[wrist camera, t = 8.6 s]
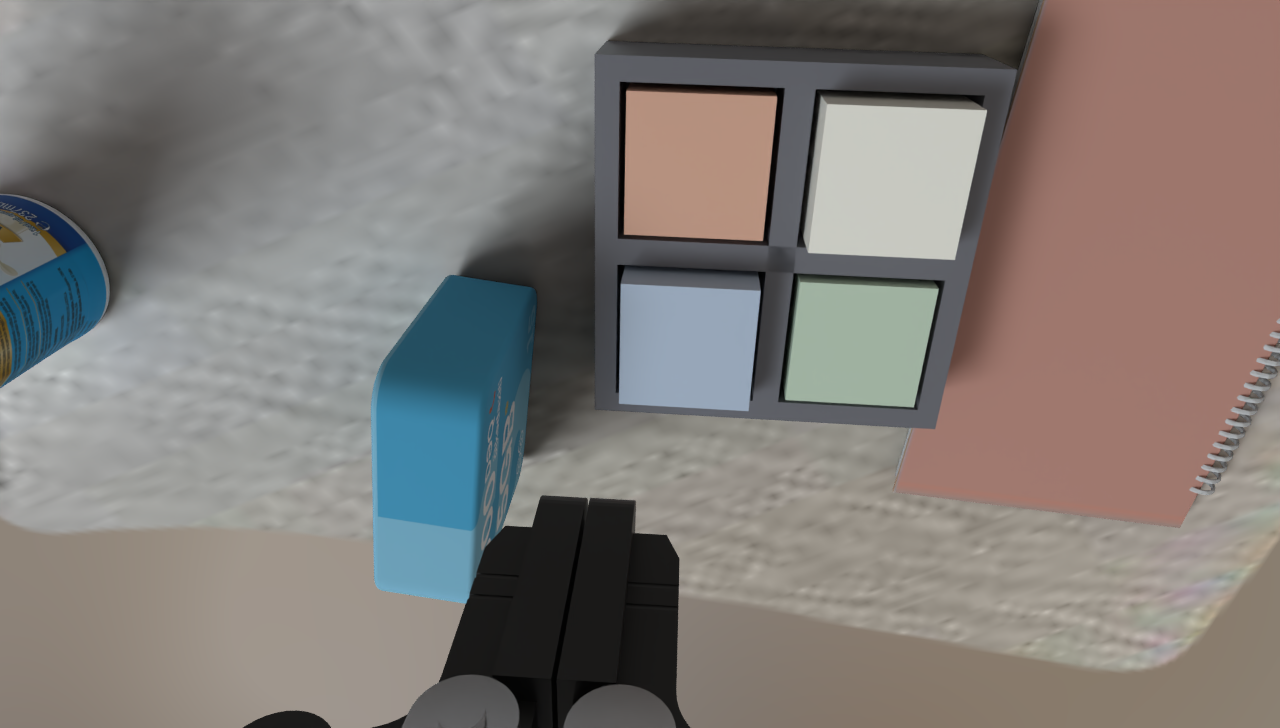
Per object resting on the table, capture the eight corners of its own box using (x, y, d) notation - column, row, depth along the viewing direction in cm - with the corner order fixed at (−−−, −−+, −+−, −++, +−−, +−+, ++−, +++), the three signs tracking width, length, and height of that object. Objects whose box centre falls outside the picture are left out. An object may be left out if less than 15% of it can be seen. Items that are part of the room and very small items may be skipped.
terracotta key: (630, 210, 39) (623, 234, 36) (633, 77, 36) (626, 90, 33) (758, 216, 38) (762, 241, 35) (771, 82, 36) (777, 96, 33)
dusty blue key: (625, 368, 41) (618, 403, 38) (627, 255, 38) (620, 283, 35) (745, 375, 41) (748, 411, 38) (756, 261, 38) (760, 290, 35)
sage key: (779, 365, 42) (785, 400, 39) (792, 254, 39) (800, 282, 36) (898, 372, 42) (913, 407, 39) (920, 260, 39) (938, 288, 36)
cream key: (799, 226, 37) (808, 253, 34) (816, 88, 34) (827, 104, 31) (933, 232, 37) (954, 260, 34) (961, 94, 34) (987, 110, 31)
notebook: (1183, 511, 47) (1202, 533, 45) (887, 473, 47) (894, 495, 45) (1456, -13, 34) (1498, -11, 32) (1047, -61, 34) (1066, -61, 32)
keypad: (605, 366, 44) (594, 409, 40) (606, 41, 36) (594, 54, 32) (914, 383, 43) (935, 429, 39) (982, 54, 36) (1017, 69, 32)
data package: (523, 468, 48) (471, 621, 37) (446, 456, 48) (372, 605, 37) (539, 277, 42) (484, 394, 31) (452, 264, 42) (368, 375, 31)
